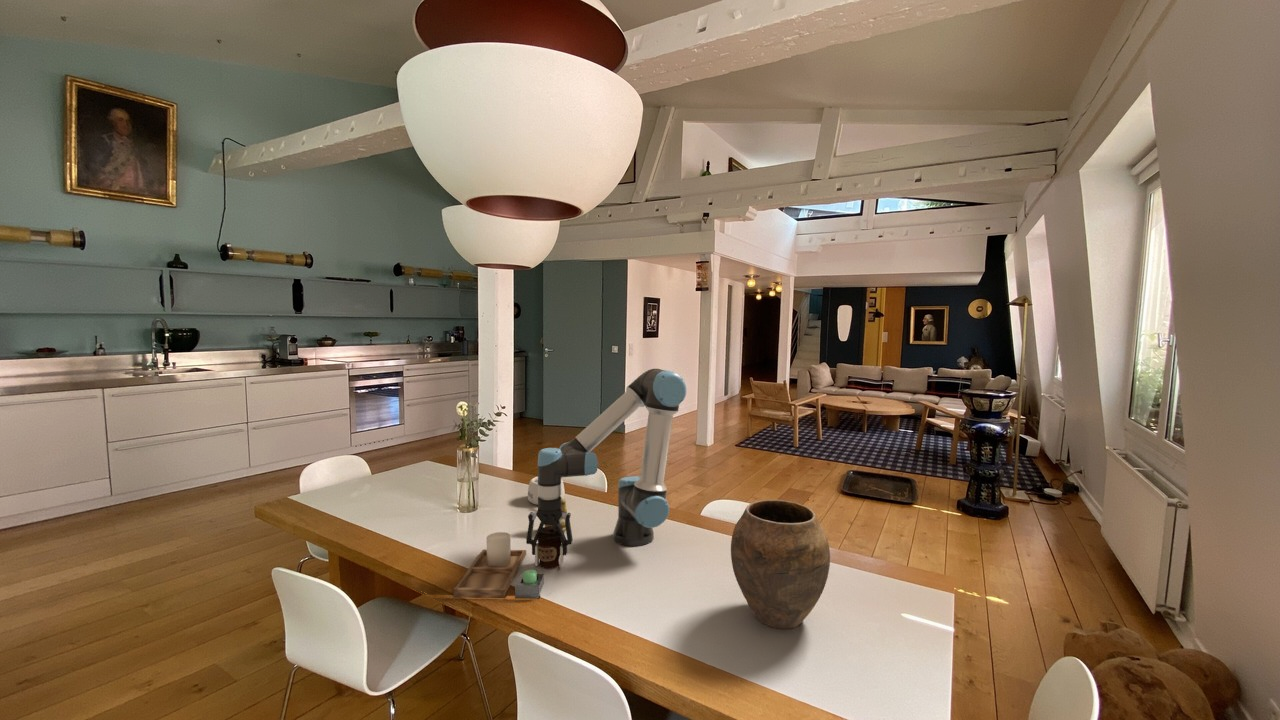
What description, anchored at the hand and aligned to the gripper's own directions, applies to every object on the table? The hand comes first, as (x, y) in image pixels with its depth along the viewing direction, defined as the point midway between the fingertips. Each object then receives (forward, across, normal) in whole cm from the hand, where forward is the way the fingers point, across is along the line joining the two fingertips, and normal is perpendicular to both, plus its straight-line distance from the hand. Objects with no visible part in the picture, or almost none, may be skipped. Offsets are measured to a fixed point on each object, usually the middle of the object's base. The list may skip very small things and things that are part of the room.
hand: (549, 564), depth 171 cm
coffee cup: (+1, 0, 0) cm, 1 cm away
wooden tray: (+1, +17, +6) cm, 18 cm away
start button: (0, +3, +16) cm, 16 cm away
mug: (+2, +13, -63) cm, 64 cm away
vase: (+1, -68, +27) cm, 73 cm away
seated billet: (0, +17, 0) cm, 17 cm away
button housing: (+1, +3, +16) cm, 16 cm away
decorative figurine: (+1, +3, -31) cm, 31 cm away
